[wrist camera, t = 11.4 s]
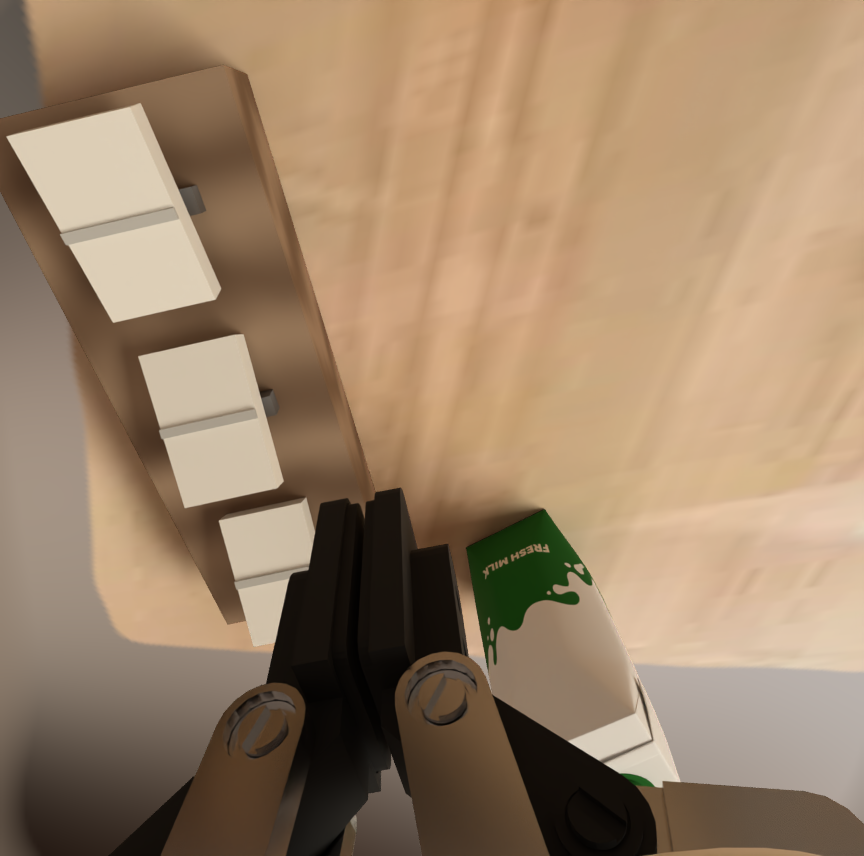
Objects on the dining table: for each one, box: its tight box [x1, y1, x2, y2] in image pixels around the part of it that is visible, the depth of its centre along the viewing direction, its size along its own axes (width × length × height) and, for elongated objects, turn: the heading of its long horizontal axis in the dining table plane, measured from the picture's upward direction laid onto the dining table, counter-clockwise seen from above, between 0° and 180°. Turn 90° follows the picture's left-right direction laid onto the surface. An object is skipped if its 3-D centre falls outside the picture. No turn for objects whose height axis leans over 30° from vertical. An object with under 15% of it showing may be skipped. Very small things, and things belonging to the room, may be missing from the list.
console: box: [0, 65, 375, 624], centre depth 35 cm, size 32×12×6 cm, turn 12°
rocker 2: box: [138, 334, 284, 508], centre depth 31 cm, size 8×5×2 cm, turn 11°
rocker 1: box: [6, 103, 221, 323], centre depth 26 cm, size 8×5×2 cm, turn 12°
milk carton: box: [466, 509, 681, 788], centre depth 38 cm, size 9×9×20 cm
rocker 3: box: [219, 497, 315, 647], centre depth 36 cm, size 8×5×2 cm, turn 11°
